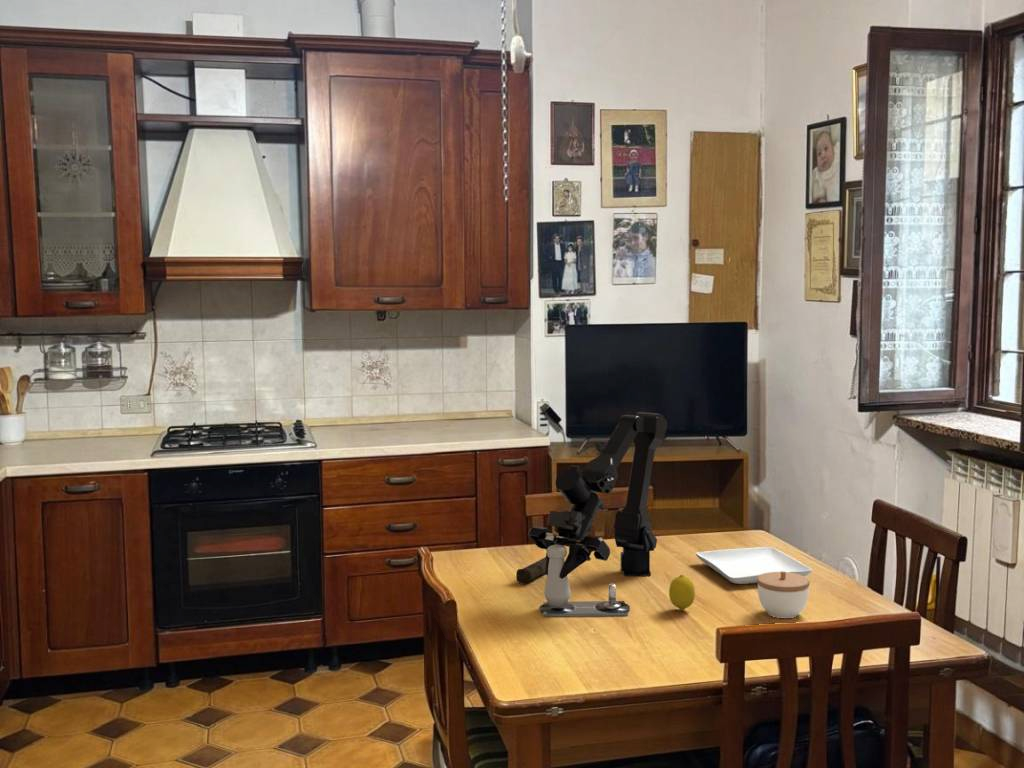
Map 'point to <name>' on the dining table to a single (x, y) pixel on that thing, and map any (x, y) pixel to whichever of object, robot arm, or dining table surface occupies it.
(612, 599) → the fixed steel pin
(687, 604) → the lemon
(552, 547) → the salt shaker
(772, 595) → the lidded jar
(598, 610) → the plate
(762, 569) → the salad plate
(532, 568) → the hand tool
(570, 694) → the dining table surface
